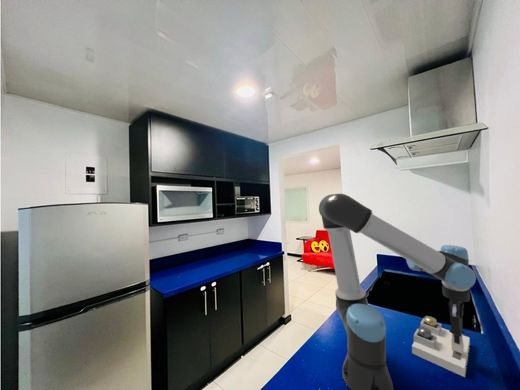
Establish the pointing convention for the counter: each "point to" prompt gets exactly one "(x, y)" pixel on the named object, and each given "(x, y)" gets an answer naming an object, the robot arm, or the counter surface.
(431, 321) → the brass button
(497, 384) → the counter surface
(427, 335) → the grey button
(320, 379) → the counter surface
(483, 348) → the counter surface
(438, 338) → the console
